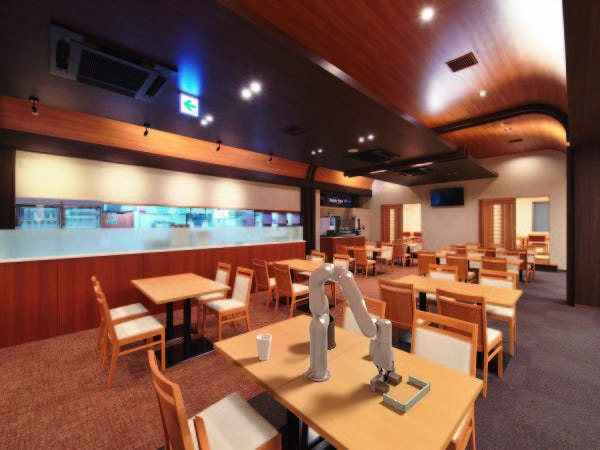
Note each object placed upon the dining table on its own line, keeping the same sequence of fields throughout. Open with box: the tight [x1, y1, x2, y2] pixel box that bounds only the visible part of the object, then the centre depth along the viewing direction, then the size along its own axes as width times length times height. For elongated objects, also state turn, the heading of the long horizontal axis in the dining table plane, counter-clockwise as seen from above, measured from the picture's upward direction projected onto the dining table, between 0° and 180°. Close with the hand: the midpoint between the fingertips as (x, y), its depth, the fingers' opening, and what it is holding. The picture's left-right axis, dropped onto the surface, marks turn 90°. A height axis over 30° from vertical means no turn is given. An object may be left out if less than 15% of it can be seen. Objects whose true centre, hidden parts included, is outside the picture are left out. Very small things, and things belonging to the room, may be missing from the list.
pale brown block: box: [368, 338, 376, 358], centre depth 168 cm, size 4×7×10 cm, turn 53°
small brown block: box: [389, 372, 403, 386], centre depth 141 cm, size 5×4×3 cm
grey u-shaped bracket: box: [382, 374, 431, 414], centre depth 130 cm, size 25×11×4 cm, turn 131°
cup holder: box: [311, 312, 337, 351], centre depth 182 cm, size 18×24×25 cm
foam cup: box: [255, 333, 273, 362], centre depth 165 cm, size 10×9×13 cm
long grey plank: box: [369, 365, 397, 393], centre depth 139 cm, size 20×2×5 cm, turn 131°
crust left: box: [376, 381, 390, 395], centre depth 133 cm, size 5×4×3 cm
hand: (383, 379), depth 139 cm, fingers closed on long grey plank, 2 cm apart
